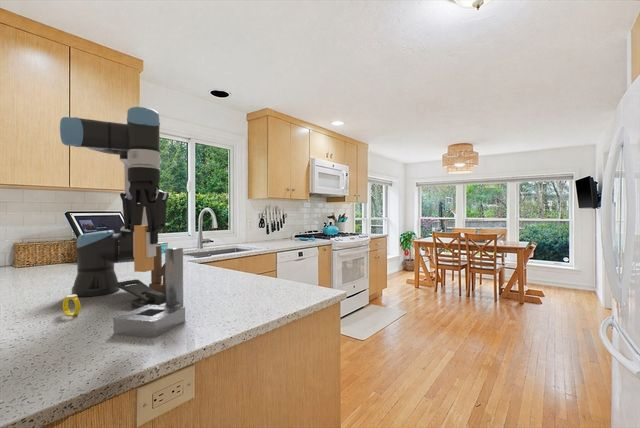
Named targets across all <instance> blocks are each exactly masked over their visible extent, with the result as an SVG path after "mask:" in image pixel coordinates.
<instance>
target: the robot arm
mask: <svg viewBox="0 0 640 428" xmlns="http://www.w3.org/2000/svg"><path fill="white" fill-rule="evenodd" d="M126 112H127V114H126V115H127V117H126V123H121V122H115V121H103V120H99V119H98V120H97V119H88V118H81V117H76V116H75V117H71V116H63V117H61V118H60V122H59V134H60V141H61V143H62V144H63V145H64V146H69V147H75V148H86V149H89V150H91V151H96V152H99V153H103V154H107V155H108V154H109V155H117V156H118V155H119V160H120V162H122V163H123V165H124V169H123V171H124V174H123V175H124V192H120V194H119V196H120V199H121V202H122V215H123V226H122V227H121V228H120V233H115V230H114V229H110V230H109V229H108V230H102V231H101V230H100V231H93V232H88V233H82V234H80V235H78V237H77V240H76V241H77V242H76V246H75V247H76V248H75V249H77V250H76V251H77V252H76V253H77V254H76V255H77V256H76V257H77V258H76V259H77V263H76V265H77V266H76V267H77V271H76V276H75V280H74V282H73V286H72V287H71V295H73V294H76V295H77V298H79V297H82V298H83V297H84V298H85V297H96V296H103V295H107V294H112V293H115V292H118V291H119V290H121V289H120V288H118V287H116V286H115V284H116V283H119V282H120V281H119V280H118V277H117V273H116V271H115V264H119V263H120V264H121V263H133V262H134V225H148V229H149V230H146V231H147V232H146V257H153V256H156V245H158V242H159V231H161V230H164V229H165V228H166V215H167V201H168V198H169V195H170V193H169V191H164V190H161V188H160V186H159V183H160V182H161V171H160V169H159V168H160V167H161V154H160V153H161V152H160V126H161V123H160V114H159V113H158V111H156V110H154V109H152V108H149V107H143V106H142V107H141V106H131V107H130V108H128V109H127V111H126ZM153 226H154V227H153Z"/></svg>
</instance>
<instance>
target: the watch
mask: <svg viewBox="0 0 640 428" xmlns="http://www.w3.org/2000/svg"><path fill="white" fill-rule="evenodd" d="M70 300H72V301H73V303H74V312H72V311H70V308H69V301H70ZM81 306H82V305H81V302H80V299H79V297H77V295H76V294H73V295H72V294H68V295H66V296H65V298H64V299H63V302H62V310H63V313H64V314H65V316H70V317H74V316H77V315H79V313H80V311H81Z"/></svg>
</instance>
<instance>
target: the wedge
mask: <svg viewBox="0 0 640 428" xmlns="http://www.w3.org/2000/svg"><path fill="white" fill-rule="evenodd" d="M153 227H154V226H153ZM146 230H149V229H148V225H134V263H133V264H134V265H133V268H134V270H133V271H134V272H139V273H146V272H147V273H148V272H151V270H154V256H153V257H146V232H147V231H146Z"/></svg>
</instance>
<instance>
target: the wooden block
mask: <svg viewBox="0 0 640 428" xmlns="http://www.w3.org/2000/svg"><path fill="white" fill-rule="evenodd" d="M162 249H163V247H162V245H159V244H157V245H156V256H154V270H151V271H150V278H151V279H150V281H151V282H150V283H149V284H148V287H150V288H151V289H153V290H154V291H157V292H160V293H163V294H165V262H164V264H162V262H163V260H162V257H163V256H162V255H163V254H162Z"/></svg>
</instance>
